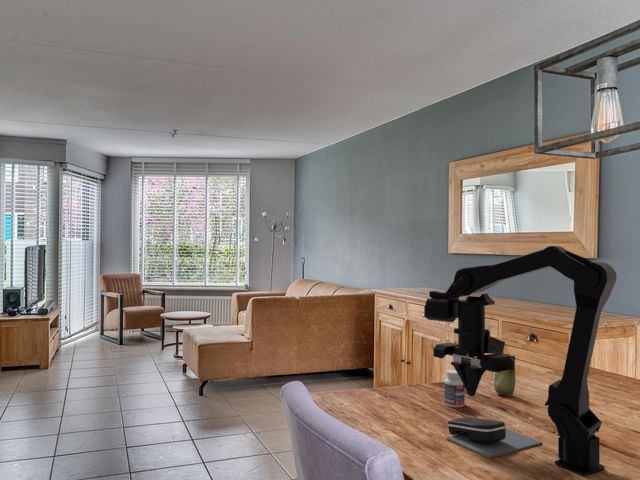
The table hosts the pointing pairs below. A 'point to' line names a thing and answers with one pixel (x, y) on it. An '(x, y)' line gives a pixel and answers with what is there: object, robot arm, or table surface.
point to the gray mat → (496, 444)
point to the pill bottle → (454, 390)
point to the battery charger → (478, 429)
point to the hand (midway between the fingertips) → (471, 395)
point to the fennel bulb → (505, 381)
